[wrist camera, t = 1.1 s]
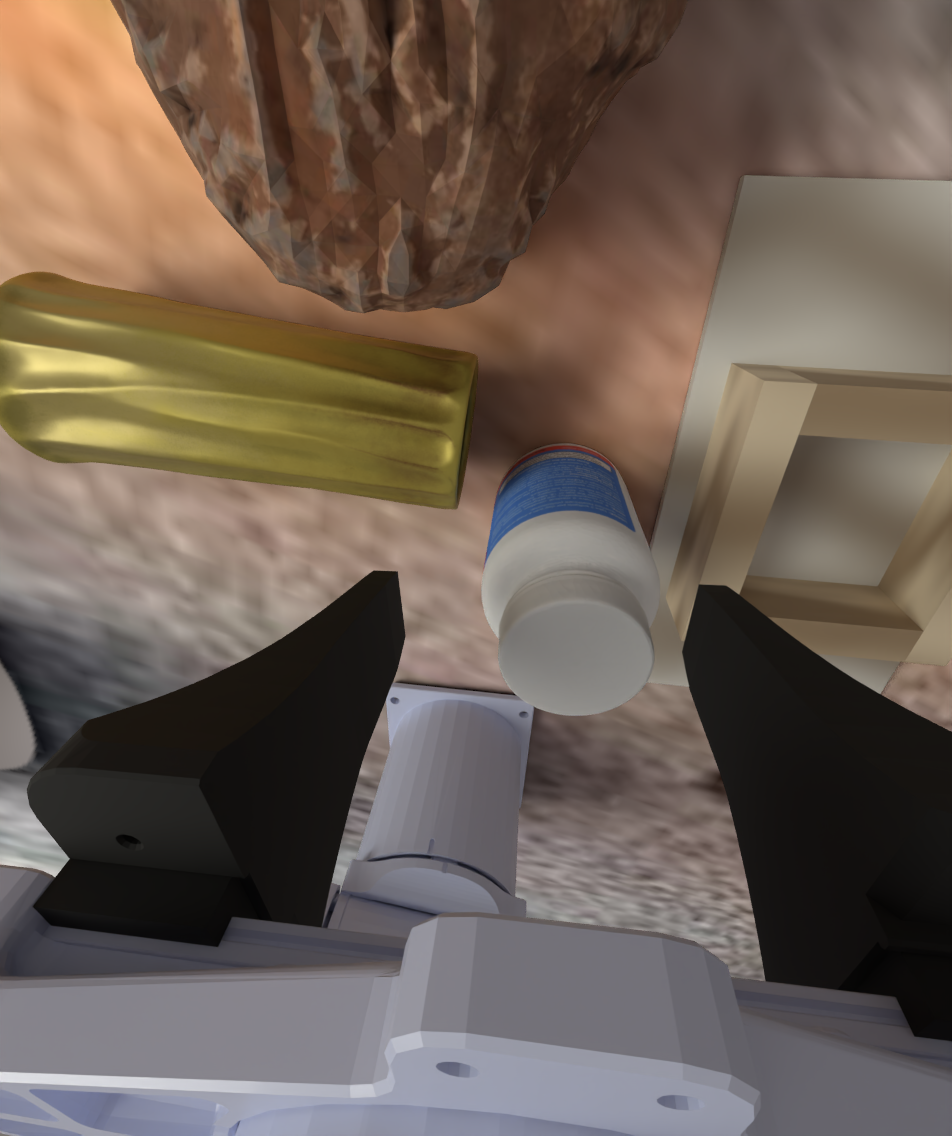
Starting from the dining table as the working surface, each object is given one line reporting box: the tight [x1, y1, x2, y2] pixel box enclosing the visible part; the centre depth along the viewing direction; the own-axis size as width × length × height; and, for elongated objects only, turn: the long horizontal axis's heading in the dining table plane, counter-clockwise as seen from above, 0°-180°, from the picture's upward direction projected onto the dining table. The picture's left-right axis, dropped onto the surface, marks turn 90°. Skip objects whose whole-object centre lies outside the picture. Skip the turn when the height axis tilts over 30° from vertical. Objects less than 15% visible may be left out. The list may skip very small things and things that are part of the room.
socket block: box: [647, 175, 952, 694], centre depth 18 cm, size 20×12×3 cm, turn 178°
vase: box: [0, 272, 478, 509], centre depth 17 cm, size 6×6×14 cm
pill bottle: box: [481, 443, 660, 716], centre depth 17 cm, size 6×5×10 cm
